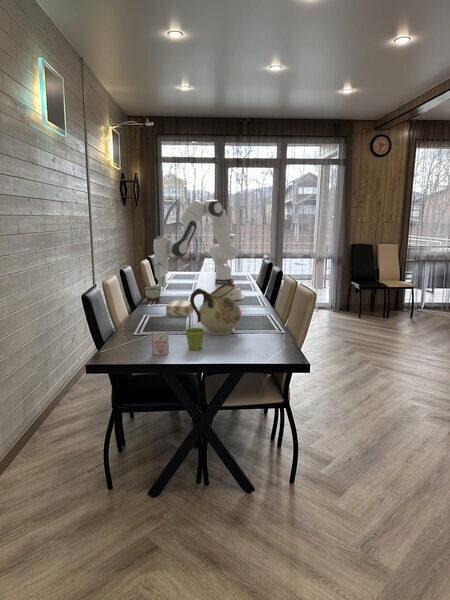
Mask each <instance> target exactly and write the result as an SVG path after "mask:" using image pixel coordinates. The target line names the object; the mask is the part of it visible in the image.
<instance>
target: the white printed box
mask: <svg viewBox="0 0 450 600" xmlns="http://www.w3.org/2000/svg"><path fill="white" fill-rule="evenodd" d="M169 344H170V343H169V333H168V332H152V337H151V348H152V350H151V352H152V356H155V357H156V356H159V357H160V356H169V354H170V350H169V349H170V348H169V347H170V345H169Z"/></svg>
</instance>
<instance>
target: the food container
mask: <svg viewBox="0 0 450 600" xmlns="http://www.w3.org/2000/svg"><path fill="white" fill-rule="evenodd" d="M143 290H144V292H145V298H146V299H145V300H146V302H149V303H151V301H158V302H157V303H160V302H161V292H162V287H158V286H157V285H156V286H155V285H153V286H145V287H144V288H143Z"/></svg>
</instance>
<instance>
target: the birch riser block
mask: <svg viewBox="0 0 450 600" xmlns="http://www.w3.org/2000/svg"><path fill="white" fill-rule="evenodd" d="M194 311H195V310H194V309H193V307H192V305H191V302H190V300H171V301H170V302H169V303H168V304H167V305H166V306H165V312H166V316H185V317H186V316H187V315H189V316H190V315H191V313H192V312H194ZM187 317H188V316H187Z"/></svg>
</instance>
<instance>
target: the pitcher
mask: <svg viewBox="0 0 450 600" xmlns="http://www.w3.org/2000/svg"><path fill="white" fill-rule="evenodd" d="M238 287H239V288H240V286H239V285H237V284H235V283H233V284H232V283H226V284H223V285H221V286H220V287H219V288H218V289H216V290H215V289H214V291H211V292H207V291H206V290H204V289H203V288H198V287H197V288H196V289H195V290H194V291H193V292H192V293H191V295H190V298H189V301H190V302H191V305H192V307H193V309H194V310H193V311H194V312H195V313H196V316H197V323H200V324H201V325H202V326H203V327H204V329H205V330H207V331H208V333H209V334H210V335H214V336H226V335H230V334H232V332H233V330H234V329H235V328H236V327H237V326H238V324H239V323H240V321H241V318H242V309H241V307H240V306H239V305H238V304H239V303H237V302H236V300H233V299H232V298H231V292H232V291H233V290H234V289H236V288H238ZM198 295H202V296H203V300H202V304H201V305H200V307H199V309H198V307H197V305H196V303H195V298H196V296H198Z"/></svg>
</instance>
